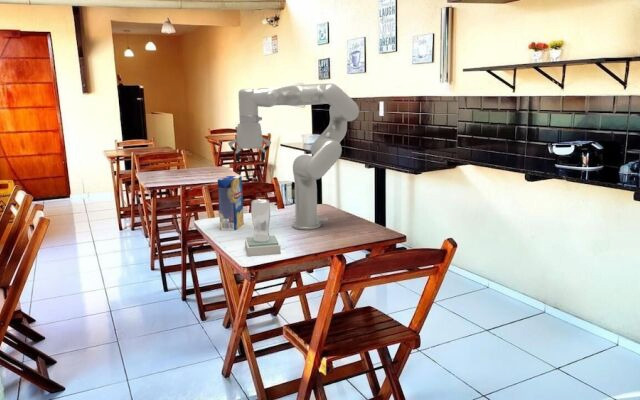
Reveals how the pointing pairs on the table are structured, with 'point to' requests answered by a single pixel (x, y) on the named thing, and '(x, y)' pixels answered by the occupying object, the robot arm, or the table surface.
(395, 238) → the table surface
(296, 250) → the table surface
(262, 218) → the beer glass
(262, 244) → the base
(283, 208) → the table surface
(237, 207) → the beverage box
